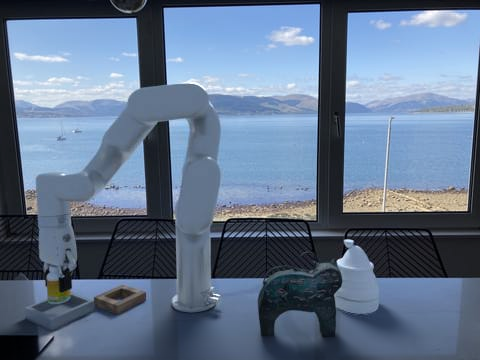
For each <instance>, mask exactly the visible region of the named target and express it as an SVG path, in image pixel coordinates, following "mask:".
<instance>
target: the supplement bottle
mask: <svg viewBox="0 0 480 360" xmlns="http://www.w3.org/2000/svg"><path fill="white" fill-rule="evenodd" d="M63 264H66V262H63ZM66 268H67V266H65V267H63V271H64V270H65V269H66ZM49 271H50V273H49V274H48V275H47V287H46V289H47V290H46V291H47V293H46V294H47V296H46V297H47V299H48V302H49V303H50V304H61V303H64V302H66V301H68V300H69V299H70V292H71V289H70V290H67V291H65V292H62V293H61V292H59V277H60V274H59V270H58V266H55V265H52V264H51V265H49Z"/></svg>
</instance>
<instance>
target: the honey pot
mask: <svg viewBox="0 0 480 360" xmlns="http://www.w3.org/2000/svg"><path fill="white" fill-rule="evenodd" d="M354 242H355V241H354V240H352V239H343V243H344V245H345V247H346V248H348V249H347V250H346V252H345V253H344V255H343V257H342V258H341V257H340V258H339V259H336V261H337V265H338V267H339V269H340V271H341V274H342V280H343V281H342V286H341V288H340V289H339V290H338V291H337V292H336V293H335V294H334V297H335V305H336V307H337V308H339V309H342V310H344V311H347V312H351V313H359V314H360V313H363V314H365V313H371V312H374V311H376V310H377V309H379V308H378V307H380V305H379V302H380V288H379V285H378V281H377V279H376V275H375V273H374V271H373V270H374V268H375V267H374V263H373V262H371V261H370V260H369V257H368V255H367V254H366V253H365V251H364V249H362V248H361V247H360V246H359V245H355V244H354ZM337 308H336V309H337ZM339 309H338V310H339ZM344 311H343V312H344ZM377 311H378V310H377ZM347 312H346V313H347ZM351 313H350V314H351ZM374 313H375V312H374ZM371 314H372V313H371ZM365 315H366V314H365Z"/></svg>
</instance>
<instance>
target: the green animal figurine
mask: <svg viewBox="0 0 480 360" xmlns="http://www.w3.org/2000/svg"><path fill="white" fill-rule="evenodd" d="M305 255H312V256H314V258H315V260H312V264H313V267H312V268H311V269H304V268H303V269H302V268H297V267H295V266H291V265H279V266H275V267H273V268H271V269H269V270H268V271H267V272H266V274H265V275H264V277H263V281H262V286H261V288H260V291H259V293H258V297H257V311H258V321H259V329H260V336H261V337H269V338H270V337H274V336H275V324H276V321H277V319H278V318H279V316H281V315H282V314H283V313H286V312H289V311H290V312H291V311H297V312H304V313H305V312H306V313H314V314H315V315H316V317H317V321H318V325H319V333H320V334H321V337H328V336H329V337H330V336H331V337H335V336H336V329H337V308H336V305H335V297H334V294H335V293H336V292H337V291H338V290H339V289H340V288H341V286H342V281H343V280H342V274H341V271H340V269H339V267H338V265H337V259H336V258H332V260H331V261H330V262H321V263H319V262H318V261H317V257H316V254H315V253H314V252H311V251H305V252H303V253H301V255H300V258H301V259H302V258H303V256H305ZM283 268H288V269H285V270H280V271H276V272H275V273H273V274H271V275H269V274H270V273H271V272H273V271H275V270H278V269H283ZM289 268H290V269H289ZM268 275H269V277H268V278H267V276H268ZM266 278H267V279H266Z"/></svg>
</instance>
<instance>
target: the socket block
mask: <svg viewBox="0 0 480 360" xmlns="http://www.w3.org/2000/svg"><path fill="white" fill-rule="evenodd" d="M121 297H124V298H123V299H121V300H119V301H118V300H117V299H119V298H121ZM93 300H94V304H95V307H97V308H100V309H102V310H105V311H107V312H110V313H113V314H116V315H120V314H122V313H124V312H126V311H128V310H130V309H132V308H133V307H136V306H138V305H140V304H142V303H144V302H145V301H147V292H146V291H144V290H142V289H138V288H135V287H132V286H128V285H125V284H120V285H118V286H116V287H114V288H112V289H110V290H107V291H105V292H102V293H100V294H98V295H95V296H94V297H93Z"/></svg>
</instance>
